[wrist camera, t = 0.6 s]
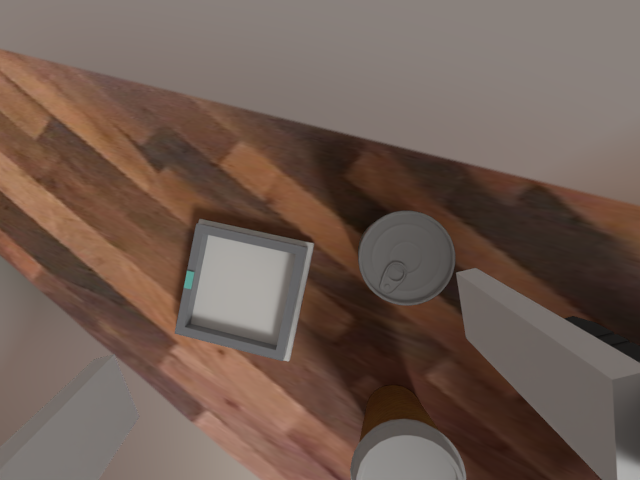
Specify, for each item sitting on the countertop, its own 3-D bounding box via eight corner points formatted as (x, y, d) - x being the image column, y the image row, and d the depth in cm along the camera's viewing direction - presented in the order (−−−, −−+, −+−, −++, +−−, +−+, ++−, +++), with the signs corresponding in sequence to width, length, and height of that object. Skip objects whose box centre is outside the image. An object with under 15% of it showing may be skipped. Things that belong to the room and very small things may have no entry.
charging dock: (314, 243, 40) (311, 244, 38) (290, 359, 41) (285, 367, 38) (202, 219, 42) (192, 218, 39) (179, 331, 42) (168, 337, 40)
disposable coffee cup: (341, 383, 40) (334, 446, 28) (420, 360, 39) (448, 415, 27) (367, 462, 40) (372, 558, 28) (448, 440, 39) (488, 531, 27)
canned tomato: (381, 203, 39) (391, 191, 28) (442, 240, 39) (475, 242, 28) (345, 262, 40) (340, 272, 29) (403, 299, 39) (421, 324, 28)
